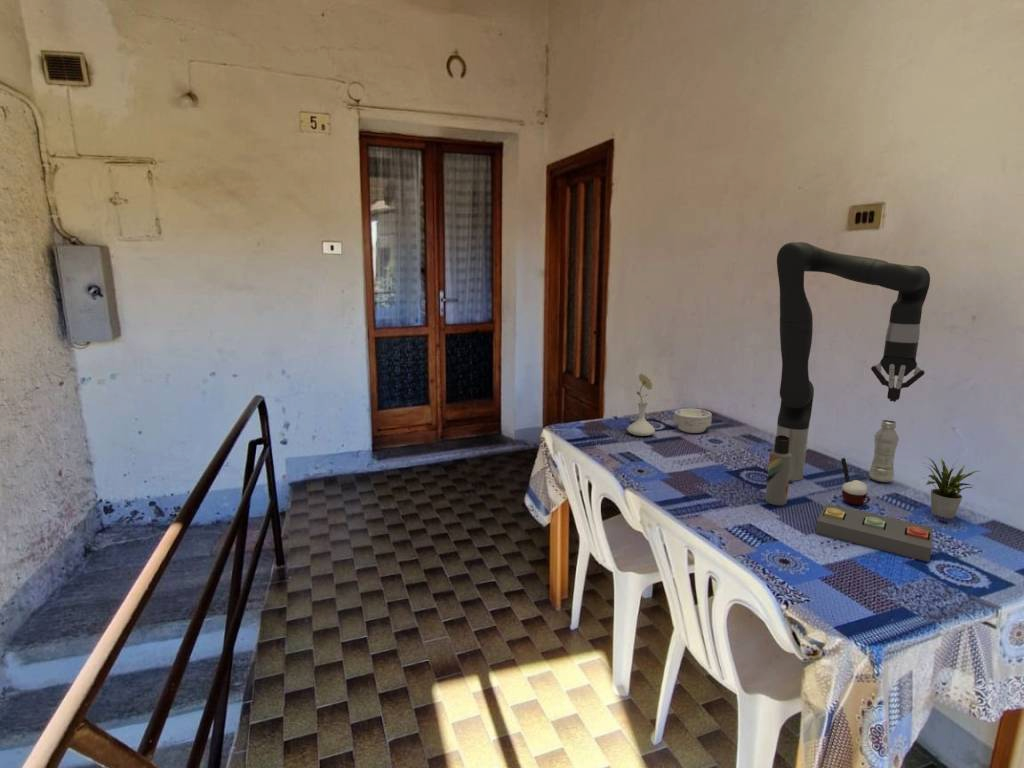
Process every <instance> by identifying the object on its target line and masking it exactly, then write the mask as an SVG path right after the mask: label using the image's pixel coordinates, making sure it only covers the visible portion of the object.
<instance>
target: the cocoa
mask: <svg viewBox="0 0 1024 768" xmlns="http://www.w3.org/2000/svg"><path fill="white" fill-rule="evenodd" d="M840 460H841V466H842V470H843V471H842V472H843V476H844V479H845V482H844V483H843V484H842V486H841V496H842V499H843V501H845V503H847V504H849V505H852V504H853V505H854V506H860V505H866V504H869V502H870V500H871V498H870V497H869V496H868V487H867V485H866V484H865V483H864V482H863V481H860V480H857V479H854V480H852V481H851V480H850V475H849V474H850V473H849V470H848V469H849V468H848V465H847V460H846V458H845V457H842V458H841V459H840ZM866 499H867V501H866Z"/></svg>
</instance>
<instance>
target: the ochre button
mask: <svg viewBox="0 0 1024 768" xmlns="http://www.w3.org/2000/svg"><path fill="white" fill-rule="evenodd" d="M824 516H828V517H832V518H836V519H840V520H844V516H845V512H843V511H841V510H840V509H837V508H827V509H826V511H825V514H824Z"/></svg>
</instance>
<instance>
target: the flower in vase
mask: <svg viewBox="0 0 1024 768" xmlns="http://www.w3.org/2000/svg"><path fill="white" fill-rule="evenodd" d="M638 380H639V381H640V383H641V386H640V388H639V390H636V394H637V395H638V396H639V397H640V399H639V400H635V401H636V403H637V406H638V418H637V419H636V420H635V421H634V422H632V423H631V424H629V425H628V426H627V428H626V431H627V432H628V433H629V434H632V435H634V436H639V437H640V436H641V437H644V436H645V437H646V436H652V435H654V434H655V433H656V429H655V427H654V425H652V424H650V423H649V422H648V421H647V419H646V418H645V417H646V416H645V415H646V414H645V413H646V408H647V406H648V404H649V400H644V399H643V398H644V397H647V396H648V394H646V395H643V396H642V394H641V390H642V388H643V386H644V388H646V389H647V390H652V389H653V384H652V381H651V379H650V378H649V376H647V375H646V374H644V373H643V372H642V373H639V374H638Z"/></svg>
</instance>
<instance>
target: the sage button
mask: <svg viewBox="0 0 1024 768" xmlns="http://www.w3.org/2000/svg"><path fill="white" fill-rule="evenodd" d="M864 525H866V526H870V527H874V528H878V529H882V530H884V526H885V521H883V520H881V519H879V518H876V517H866V519H865V522H864Z"/></svg>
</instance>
